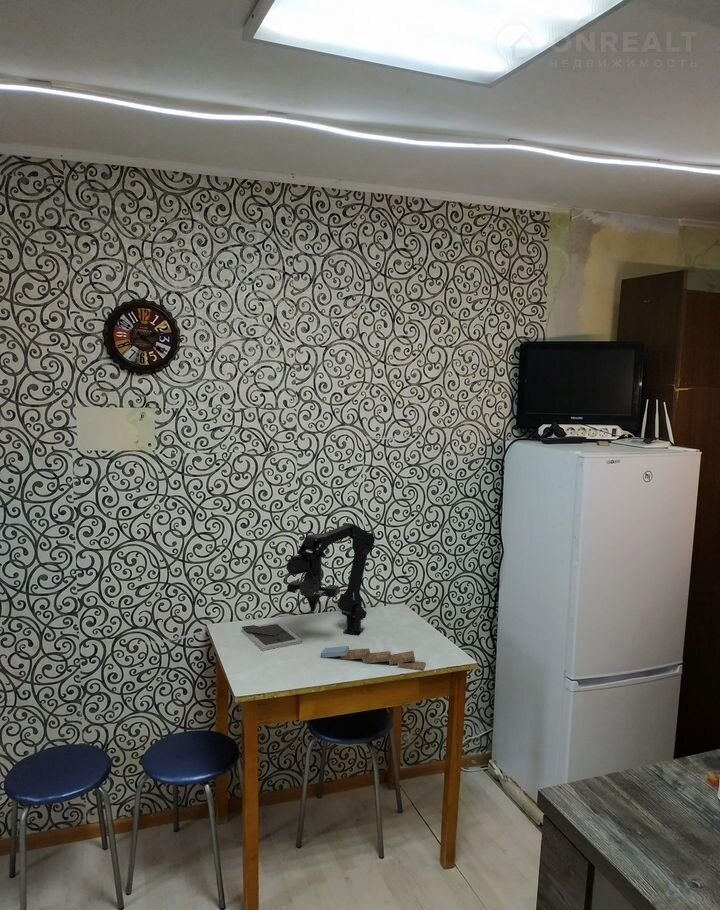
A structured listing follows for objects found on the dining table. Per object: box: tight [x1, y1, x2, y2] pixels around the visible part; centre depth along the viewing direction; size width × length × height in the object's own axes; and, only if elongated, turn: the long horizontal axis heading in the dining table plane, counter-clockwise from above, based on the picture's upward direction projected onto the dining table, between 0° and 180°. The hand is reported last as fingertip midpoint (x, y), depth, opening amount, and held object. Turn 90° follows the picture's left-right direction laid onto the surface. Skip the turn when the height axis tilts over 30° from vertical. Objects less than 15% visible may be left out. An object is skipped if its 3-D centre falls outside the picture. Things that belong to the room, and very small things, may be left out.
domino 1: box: [320, 645, 350, 659], centre depth 250 cm, size 2×5×9 cm
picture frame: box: [241, 621, 303, 652], centre depth 266 cm, size 16×3×21 cm
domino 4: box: [388, 650, 416, 666], centre depth 246 cm, size 2×5×9 cm
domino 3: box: [362, 650, 392, 664], centre depth 246 cm, size 2×5×9 cm
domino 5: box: [396, 660, 427, 672], centre depth 243 cm, size 2×5×9 cm
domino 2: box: [340, 648, 371, 661], centre depth 248 cm, size 2×5×9 cm
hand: (313, 611), depth 258 cm, fingers closed
